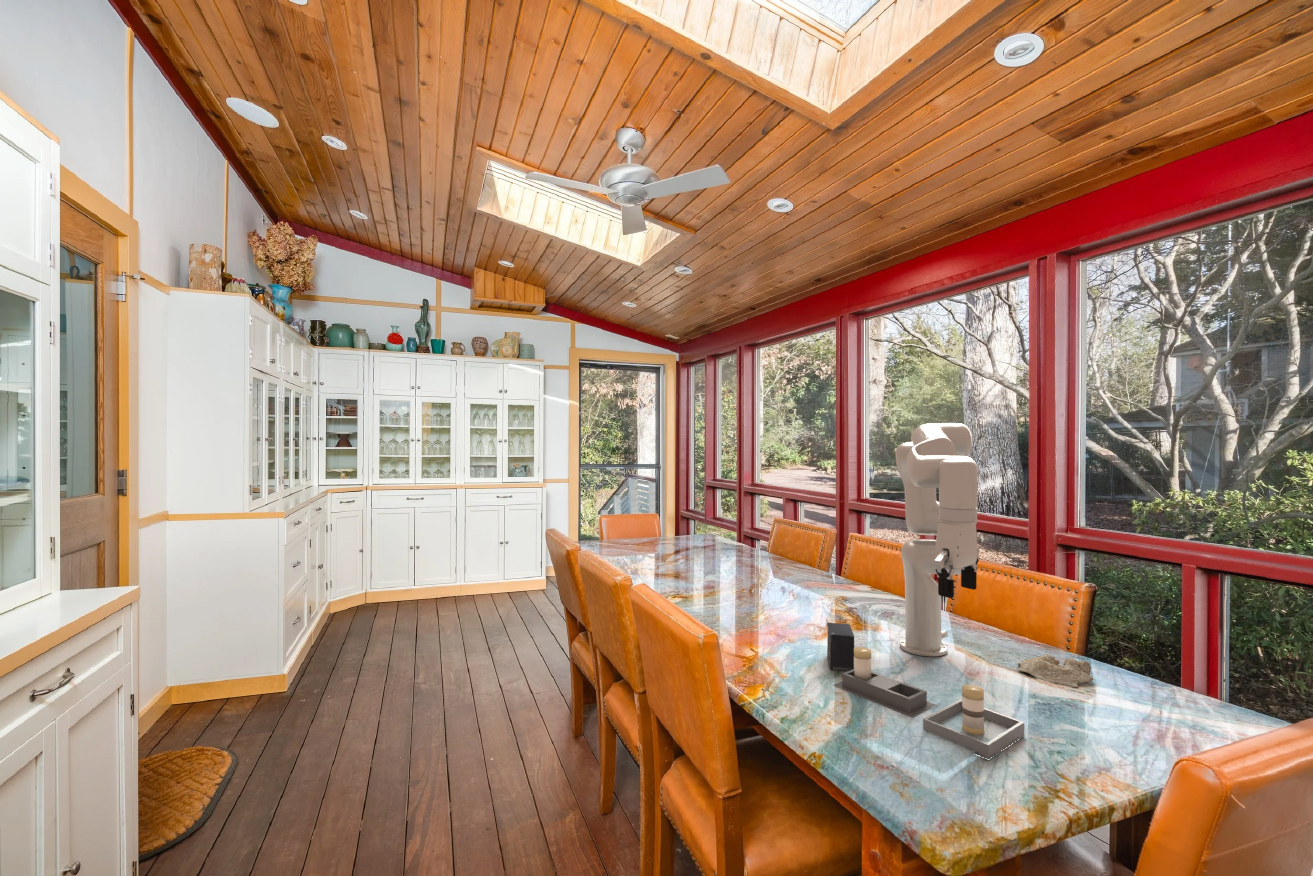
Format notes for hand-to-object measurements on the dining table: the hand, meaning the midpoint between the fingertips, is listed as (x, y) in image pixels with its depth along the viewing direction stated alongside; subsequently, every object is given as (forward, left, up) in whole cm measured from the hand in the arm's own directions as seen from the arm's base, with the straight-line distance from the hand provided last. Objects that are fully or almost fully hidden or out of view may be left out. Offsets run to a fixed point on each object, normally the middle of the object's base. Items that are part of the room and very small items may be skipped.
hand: (957, 592), depth 132 cm
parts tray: (+6, +6, -27) cm, 29 cm away
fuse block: (+6, -15, -27) cm, 32 cm away
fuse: (+6, -20, -26) cm, 34 cm away
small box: (-2, -33, -28) cm, 43 cm away
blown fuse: (+6, +6, -27) cm, 28 cm away
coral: (-43, +2, -28) cm, 51 cm away
